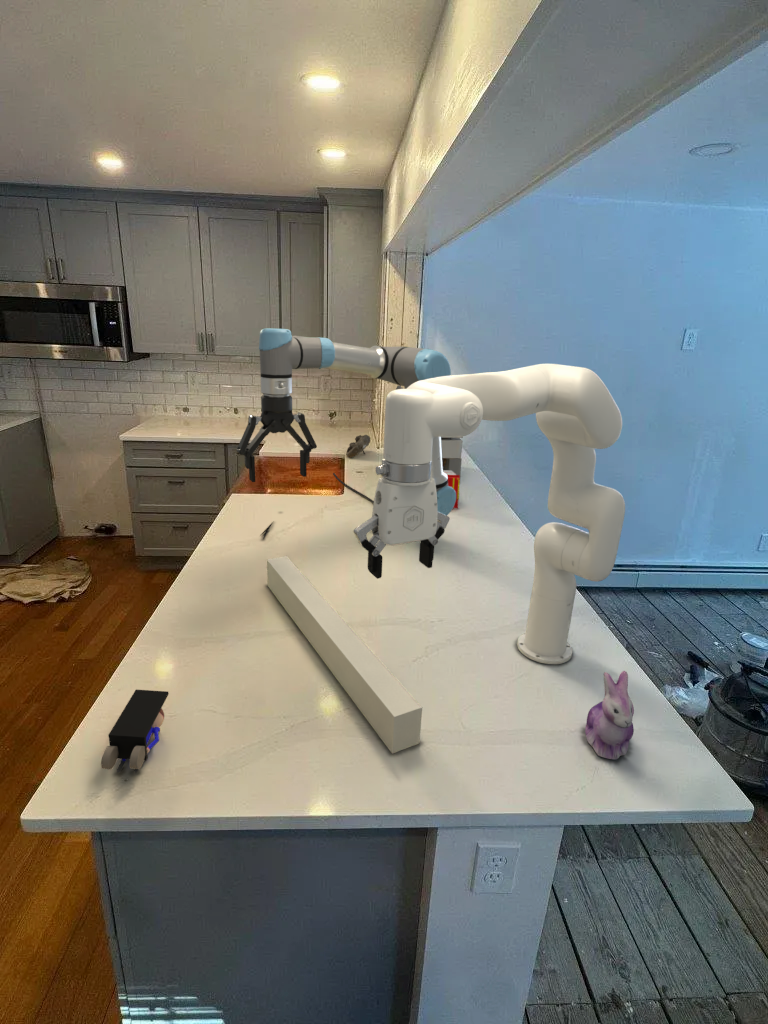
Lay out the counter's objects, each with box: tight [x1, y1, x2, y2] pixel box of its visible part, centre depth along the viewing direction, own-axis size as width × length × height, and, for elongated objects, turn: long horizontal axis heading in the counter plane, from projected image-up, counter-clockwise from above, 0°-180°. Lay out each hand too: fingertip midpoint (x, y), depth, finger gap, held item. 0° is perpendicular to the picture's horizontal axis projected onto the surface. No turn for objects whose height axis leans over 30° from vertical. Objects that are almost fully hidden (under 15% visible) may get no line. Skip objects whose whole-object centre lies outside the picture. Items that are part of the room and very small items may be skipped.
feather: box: [260, 520, 275, 540], centre depth 202 cm, size 2×28×2 cm
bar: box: [266, 555, 423, 754], centre depth 130 cm, size 71×6×8 cm, turn 29°
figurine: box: [584, 670, 635, 760], centre depth 103 cm, size 9×10×15 cm
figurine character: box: [100, 689, 169, 774], centre depth 98 cm, size 7×8×15 cm
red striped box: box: [443, 470, 461, 509], centre depth 239 cm, size 12×13×30 cm
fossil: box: [345, 434, 371, 459], centre depth 304 cm, size 22×10×15 cm
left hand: (278, 478), depth 146 cm, fingers open, 13 cm apart
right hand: (400, 569), depth 94 cm, fingers open, 9 cm apart
